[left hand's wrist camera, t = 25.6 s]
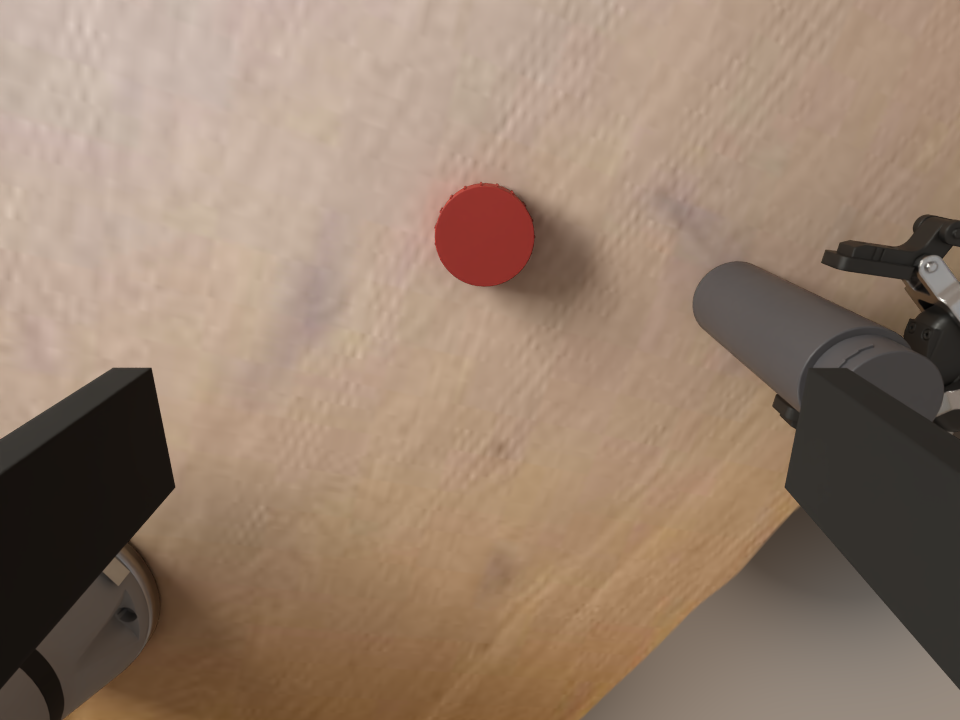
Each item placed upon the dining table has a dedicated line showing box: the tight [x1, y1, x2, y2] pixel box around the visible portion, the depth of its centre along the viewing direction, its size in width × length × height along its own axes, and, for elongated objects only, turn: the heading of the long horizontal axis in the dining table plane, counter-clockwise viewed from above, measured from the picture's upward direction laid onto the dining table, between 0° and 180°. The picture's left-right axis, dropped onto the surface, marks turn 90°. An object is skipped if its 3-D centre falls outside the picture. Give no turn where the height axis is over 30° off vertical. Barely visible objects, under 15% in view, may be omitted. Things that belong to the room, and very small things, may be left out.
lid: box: [435, 182, 535, 287], centre depth 36 cm, size 6×6×2 cm
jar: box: [693, 262, 944, 422], centre depth 31 cm, size 5×5×16 cm
